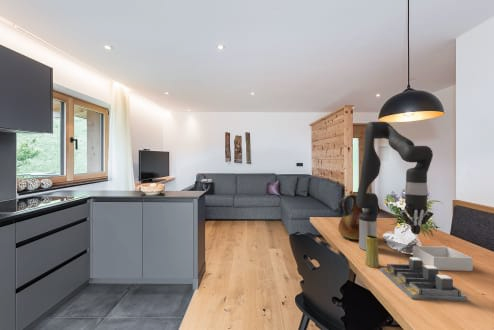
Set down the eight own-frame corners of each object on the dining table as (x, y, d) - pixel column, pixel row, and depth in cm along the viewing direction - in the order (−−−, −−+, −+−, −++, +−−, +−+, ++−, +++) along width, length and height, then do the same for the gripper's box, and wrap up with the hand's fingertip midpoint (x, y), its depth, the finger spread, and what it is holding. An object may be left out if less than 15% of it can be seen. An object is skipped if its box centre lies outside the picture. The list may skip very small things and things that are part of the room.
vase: (366, 261, 117) (366, 234, 117) (380, 264, 113) (380, 236, 113) (363, 265, 112) (364, 237, 112) (377, 269, 108) (378, 239, 108)
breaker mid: (422, 278, 96) (423, 265, 96) (432, 278, 96) (432, 265, 96) (428, 282, 93) (428, 268, 93) (438, 282, 93) (438, 268, 93)
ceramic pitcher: (377, 243, 143) (377, 196, 143) (345, 242, 143) (345, 196, 143) (362, 233, 163) (362, 192, 162) (334, 233, 163) (334, 192, 163)
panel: (380, 270, 107) (380, 263, 107) (424, 272, 105) (424, 264, 105) (411, 298, 85) (411, 289, 85) (467, 300, 83) (467, 291, 83)
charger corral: (412, 256, 122) (412, 245, 122) (446, 257, 121) (447, 246, 121) (433, 269, 108) (433, 257, 108) (472, 270, 107) (472, 258, 106)
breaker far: (408, 269, 104) (408, 257, 104) (417, 269, 104) (417, 257, 104) (413, 272, 101) (413, 259, 101) (422, 273, 101) (422, 260, 101)
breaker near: (435, 289, 88) (435, 274, 88) (446, 289, 88) (446, 274, 88) (441, 293, 85) (441, 278, 85) (452, 293, 85) (452, 278, 85)
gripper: (425, 191, 98) (425, 231, 98) (394, 191, 99) (394, 230, 99) (439, 194, 90) (438, 237, 91) (405, 194, 91) (404, 236, 91)
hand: (415, 233), depth 95 cm, fingers closed
